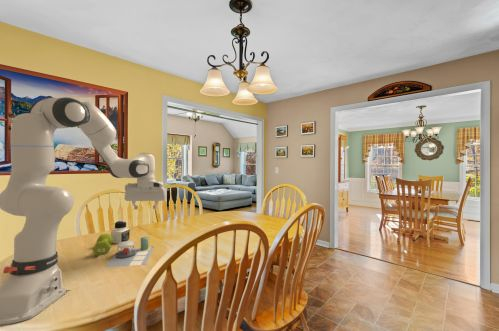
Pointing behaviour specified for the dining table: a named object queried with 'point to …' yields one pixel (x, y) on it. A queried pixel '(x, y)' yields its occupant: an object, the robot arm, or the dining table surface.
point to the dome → (125, 245)
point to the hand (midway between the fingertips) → (145, 209)
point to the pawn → (144, 243)
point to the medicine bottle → (120, 232)
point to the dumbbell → (103, 244)
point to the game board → (130, 257)
